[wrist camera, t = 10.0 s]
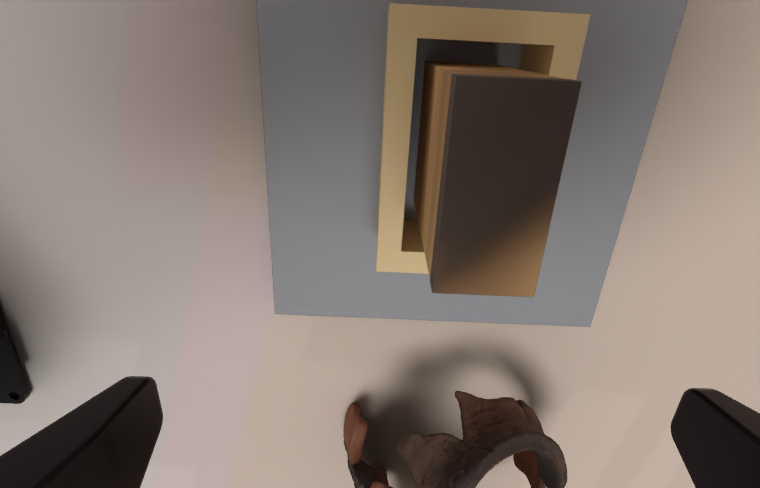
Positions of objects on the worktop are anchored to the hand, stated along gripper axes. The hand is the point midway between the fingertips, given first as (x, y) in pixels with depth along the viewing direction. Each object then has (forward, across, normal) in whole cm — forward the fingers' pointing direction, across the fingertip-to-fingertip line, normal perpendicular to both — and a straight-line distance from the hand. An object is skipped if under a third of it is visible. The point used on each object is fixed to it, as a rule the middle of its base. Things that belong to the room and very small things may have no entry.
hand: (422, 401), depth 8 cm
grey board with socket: (+12, -2, -2) cm, 12 cm away
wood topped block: (+11, -2, -2) cm, 11 cm away
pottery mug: (+12, -3, +14) cm, 19 cm away
